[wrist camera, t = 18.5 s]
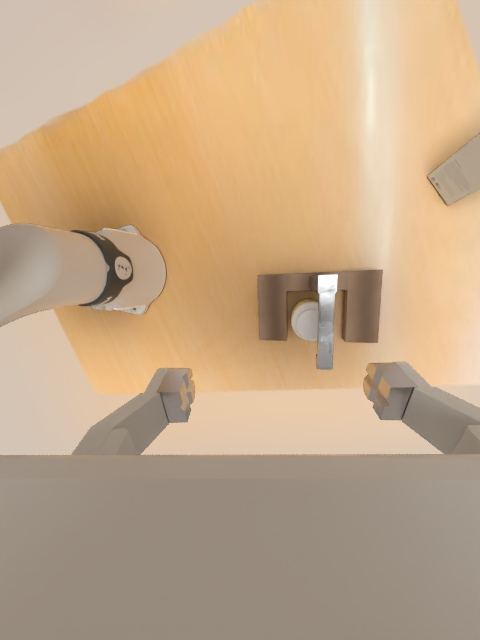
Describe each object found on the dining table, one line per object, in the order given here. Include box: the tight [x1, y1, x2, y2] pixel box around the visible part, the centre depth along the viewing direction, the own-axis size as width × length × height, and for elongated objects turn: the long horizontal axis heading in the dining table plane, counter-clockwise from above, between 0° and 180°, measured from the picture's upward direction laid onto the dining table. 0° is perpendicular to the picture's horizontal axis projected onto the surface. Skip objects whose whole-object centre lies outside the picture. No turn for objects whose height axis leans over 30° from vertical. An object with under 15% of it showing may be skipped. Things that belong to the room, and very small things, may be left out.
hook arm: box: [310, 275, 337, 370], centre depth 34 cm, size 2×12×17 cm, turn 3°
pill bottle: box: [291, 298, 318, 341], centre depth 38 cm, size 6×6×11 cm
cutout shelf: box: [258, 270, 383, 343], centre depth 41 cm, size 20×12×3 cm, turn 93°
